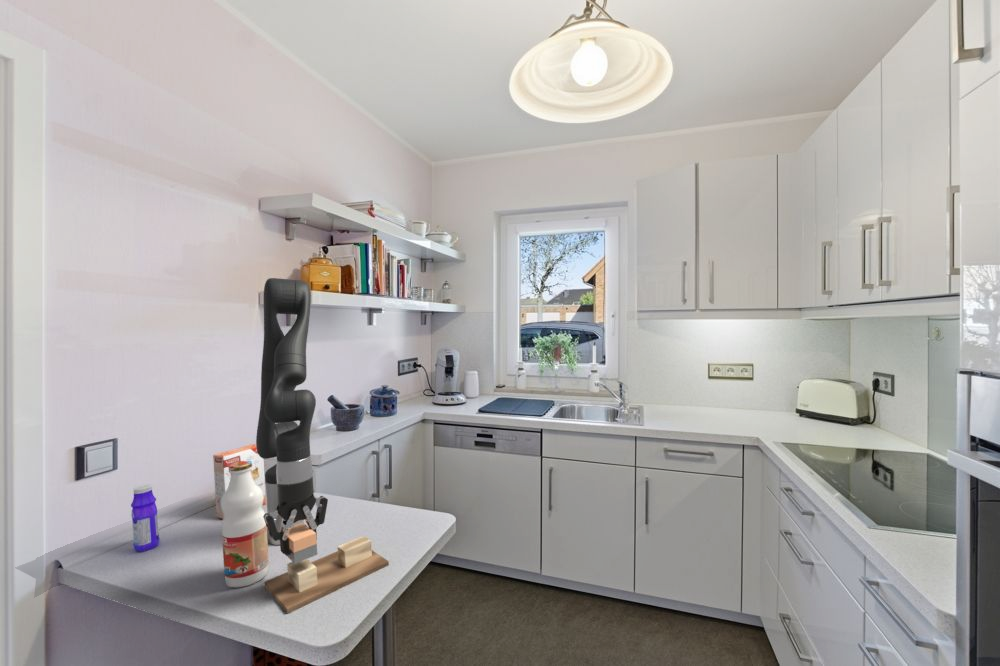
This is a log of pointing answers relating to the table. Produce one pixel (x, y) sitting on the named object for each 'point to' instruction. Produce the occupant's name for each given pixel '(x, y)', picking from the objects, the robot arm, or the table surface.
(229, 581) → the fruit juice
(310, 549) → the housing base
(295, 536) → the cover
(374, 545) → the table surface
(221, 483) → the cracker box
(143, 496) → the bottle
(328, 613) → the table surface
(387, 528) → the table surface
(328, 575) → the twin stand
